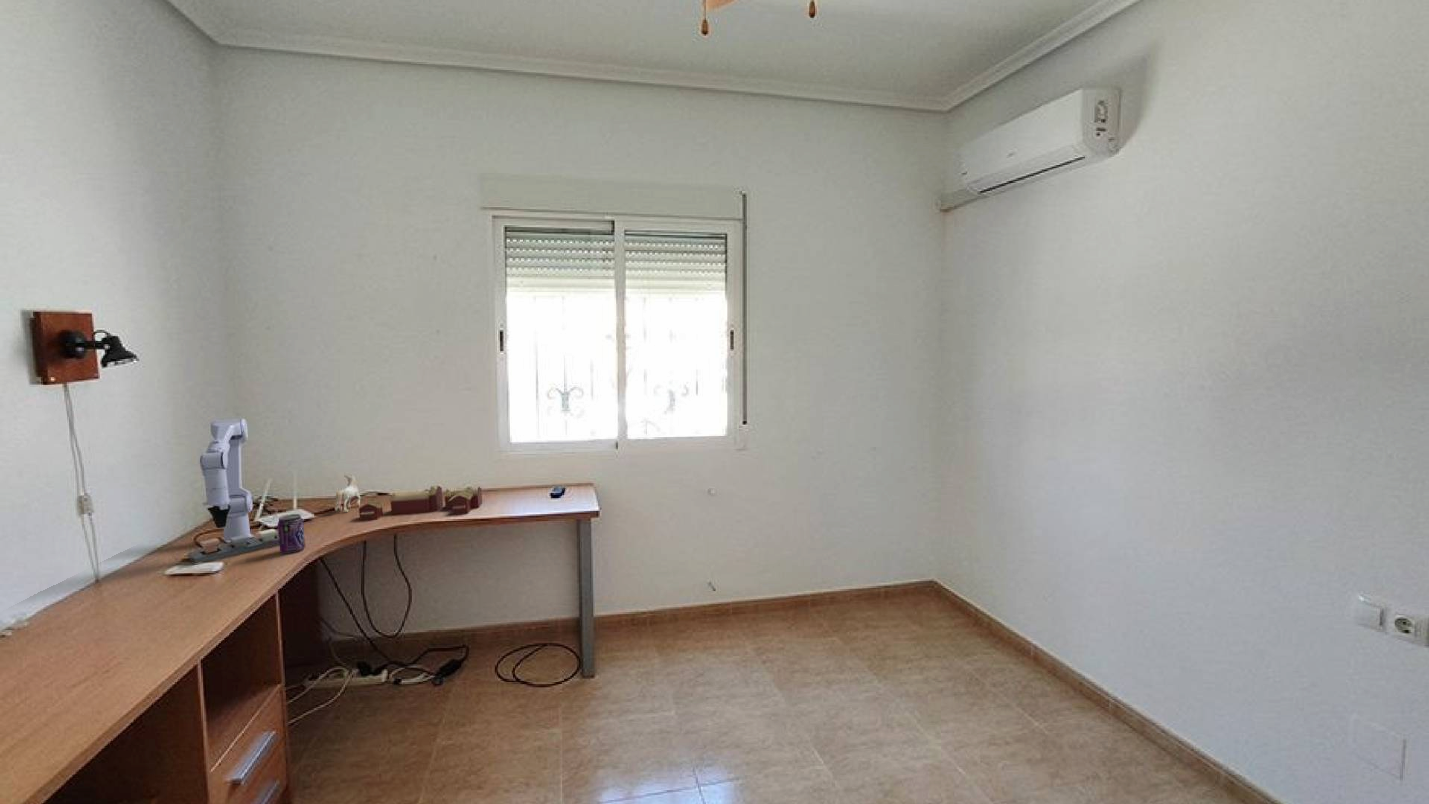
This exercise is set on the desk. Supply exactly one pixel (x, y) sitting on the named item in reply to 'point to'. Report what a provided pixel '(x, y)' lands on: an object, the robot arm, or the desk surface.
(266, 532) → the off-white block
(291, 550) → the beverage can
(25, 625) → the desk surface
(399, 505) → the toy houses
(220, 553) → the panel
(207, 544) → the terracotta key
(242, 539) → the light grey block
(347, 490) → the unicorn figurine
